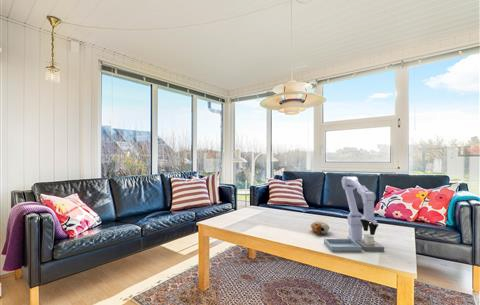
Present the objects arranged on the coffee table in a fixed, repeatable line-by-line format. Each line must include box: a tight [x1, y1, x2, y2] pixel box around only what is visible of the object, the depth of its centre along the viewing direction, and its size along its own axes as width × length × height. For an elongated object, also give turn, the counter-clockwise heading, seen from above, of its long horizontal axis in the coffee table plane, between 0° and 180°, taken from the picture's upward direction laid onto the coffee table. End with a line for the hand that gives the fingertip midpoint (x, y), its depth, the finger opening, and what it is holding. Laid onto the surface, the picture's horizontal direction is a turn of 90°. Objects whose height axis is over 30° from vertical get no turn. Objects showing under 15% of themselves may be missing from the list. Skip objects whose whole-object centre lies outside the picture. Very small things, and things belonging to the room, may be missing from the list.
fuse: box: [363, 234, 375, 245], centre depth 151 cm, size 4×4×7 cm
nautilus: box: [310, 221, 331, 236], centre depth 180 cm, size 8×22×15 cm
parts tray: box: [323, 238, 363, 253], centre depth 151 cm, size 14×18×3 cm
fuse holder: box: [355, 240, 385, 252], centre depth 151 cm, size 12×12×2 cm
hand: (369, 232), depth 151 cm, fingers open, 7 cm apart
